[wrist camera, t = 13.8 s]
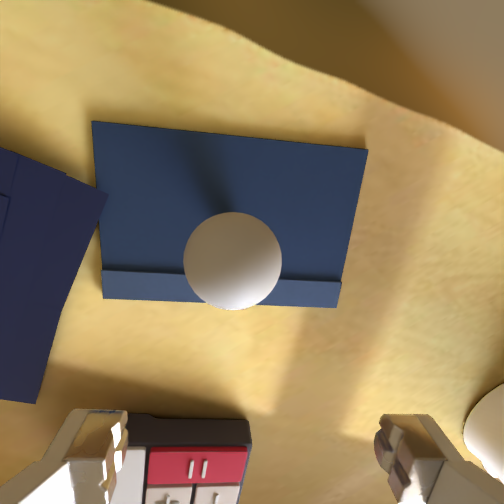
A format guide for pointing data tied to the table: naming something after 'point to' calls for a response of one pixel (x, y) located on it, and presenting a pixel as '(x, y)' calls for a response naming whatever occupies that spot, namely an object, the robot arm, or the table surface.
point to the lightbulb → (232, 261)
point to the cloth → (221, 207)
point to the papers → (37, 263)
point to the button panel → (183, 461)
